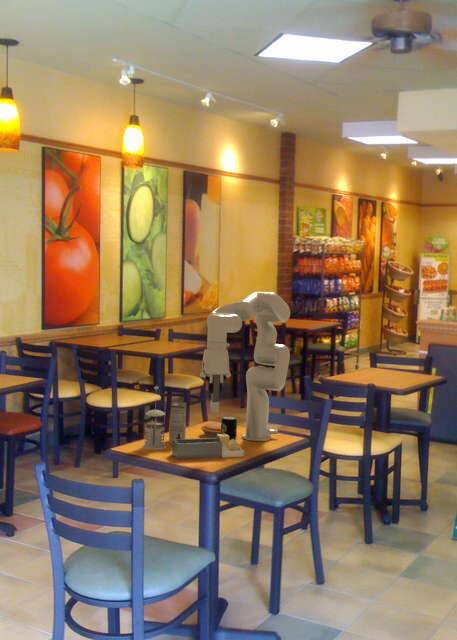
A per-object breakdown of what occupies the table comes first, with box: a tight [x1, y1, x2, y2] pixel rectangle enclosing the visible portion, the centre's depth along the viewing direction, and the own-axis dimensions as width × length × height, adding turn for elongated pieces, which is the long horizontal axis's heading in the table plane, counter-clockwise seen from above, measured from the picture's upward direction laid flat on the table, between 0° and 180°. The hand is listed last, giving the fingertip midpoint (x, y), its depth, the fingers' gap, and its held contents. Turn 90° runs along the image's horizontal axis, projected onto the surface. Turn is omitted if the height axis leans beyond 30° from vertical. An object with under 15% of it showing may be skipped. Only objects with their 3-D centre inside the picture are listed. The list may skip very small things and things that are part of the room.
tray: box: [221, 446, 245, 459], centre depth 307 cm, size 9×11×2 cm
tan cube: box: [216, 434, 230, 446], centre depth 305 cm, size 4×4×4 cm
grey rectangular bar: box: [209, 375, 220, 413], centre depth 302 cm, size 2×4×16 cm, turn 20°
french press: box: [142, 385, 167, 451], centre depth 313 cm, size 10×12×25 cm
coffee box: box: [168, 401, 188, 445], centre depth 325 cm, size 9×6×16 cm
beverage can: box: [220, 415, 238, 441], centre depth 321 cm, size 7×7×12 cm
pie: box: [200, 422, 221, 438], centre depth 340 cm, size 15×16×5 cm
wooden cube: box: [226, 439, 242, 451], centre depth 307 cm, size 4×4×4 cm
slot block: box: [171, 437, 222, 460], centre depth 302 cm, size 18×8×6 cm, turn 109°
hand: (214, 392), depth 303 cm, fingers closed on grey rectangular bar, 2 cm apart
